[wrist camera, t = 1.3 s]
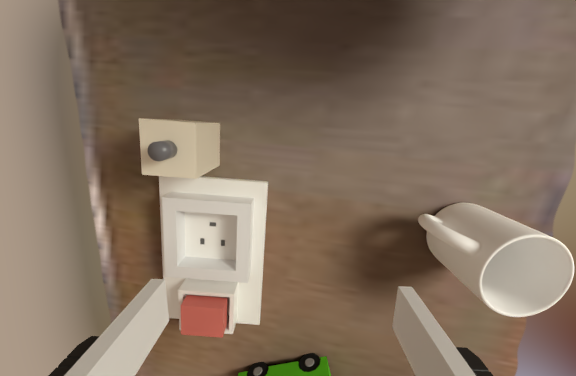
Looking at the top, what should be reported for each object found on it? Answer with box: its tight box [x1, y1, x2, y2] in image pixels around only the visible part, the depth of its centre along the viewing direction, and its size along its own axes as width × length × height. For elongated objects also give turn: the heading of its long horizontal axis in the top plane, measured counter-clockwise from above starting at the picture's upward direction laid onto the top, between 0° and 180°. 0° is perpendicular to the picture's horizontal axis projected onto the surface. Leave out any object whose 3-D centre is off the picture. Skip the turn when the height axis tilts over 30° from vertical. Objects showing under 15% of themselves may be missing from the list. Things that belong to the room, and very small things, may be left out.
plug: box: [139, 118, 220, 179], centre depth 27 cm, size 5×5×10 cm
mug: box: [418, 203, 574, 317], centre depth 28 cm, size 12×8×10 cm
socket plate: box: [159, 176, 268, 334], centre depth 33 cm, size 20×13×3 cm, turn 176°
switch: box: [181, 295, 227, 337], centre depth 32 cm, size 4×5×2 cm
